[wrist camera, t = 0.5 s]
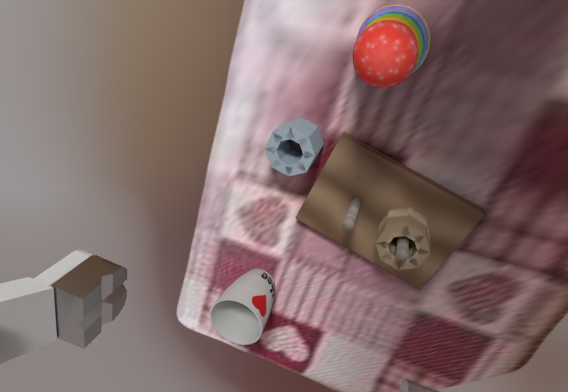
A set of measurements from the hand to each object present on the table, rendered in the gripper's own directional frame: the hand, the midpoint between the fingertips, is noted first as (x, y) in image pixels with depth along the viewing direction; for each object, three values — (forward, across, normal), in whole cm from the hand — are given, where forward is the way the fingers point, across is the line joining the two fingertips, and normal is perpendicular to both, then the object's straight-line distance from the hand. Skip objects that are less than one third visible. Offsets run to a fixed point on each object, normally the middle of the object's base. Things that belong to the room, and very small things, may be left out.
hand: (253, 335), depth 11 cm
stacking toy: (+43, 0, -5) cm, 44 cm away
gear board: (+43, -5, +16) cm, 46 cm away
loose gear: (+43, +8, +10) cm, 45 cm away
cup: (+44, +10, +35) cm, 57 cm away
